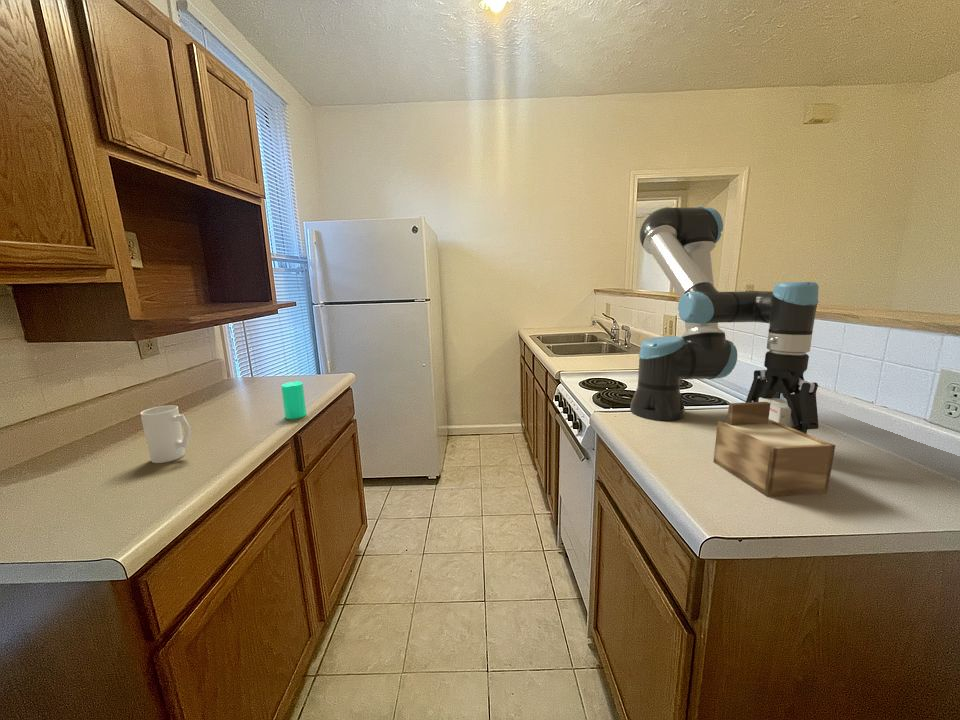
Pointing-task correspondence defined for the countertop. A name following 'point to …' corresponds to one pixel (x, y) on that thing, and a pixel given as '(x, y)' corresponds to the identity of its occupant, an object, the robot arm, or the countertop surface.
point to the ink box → (779, 411)
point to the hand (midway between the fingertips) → (773, 446)
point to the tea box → (774, 462)
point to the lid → (762, 425)
